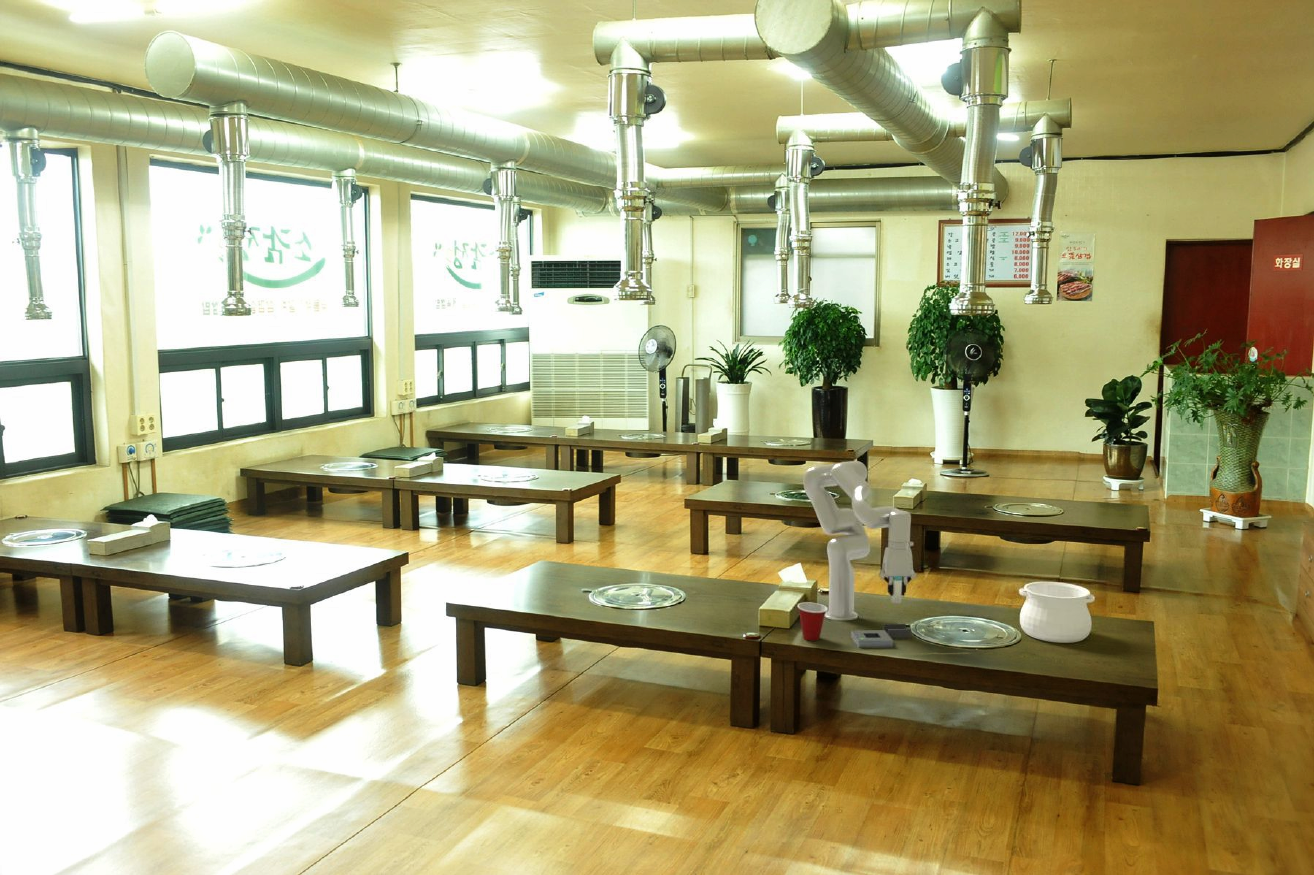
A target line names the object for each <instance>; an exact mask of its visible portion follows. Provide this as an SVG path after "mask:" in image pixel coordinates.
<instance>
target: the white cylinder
mask: <svg viewBox="0 0 1314 875" xmlns="http://www.w3.org/2000/svg"><path fill="white" fill-rule="evenodd" d="M902 580H903V577H901V576H897V577H893V581H892V585H893V595H892V596H891V595H890V600H891V601H890V602H891V603H893V604H901V603H902V600H903V599H902V598H903V595H902Z"/></svg>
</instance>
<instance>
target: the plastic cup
mask: <svg viewBox="0 0 1314 875" xmlns="http://www.w3.org/2000/svg"><path fill="white" fill-rule="evenodd" d="M797 609H798V613H799V618H800V628H801V631H802V637H803V639H804V640H806V641H811V642H812V641H818V640H820V638H821V632H822V628H823V624H824V618H825V613H826V611H828V610H829V607H827V606H826V605H824V604H821V603H819V602H817V603H816V602H810V601H809V602H808V601H805V602H800V603H798V604H797Z"/></svg>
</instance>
